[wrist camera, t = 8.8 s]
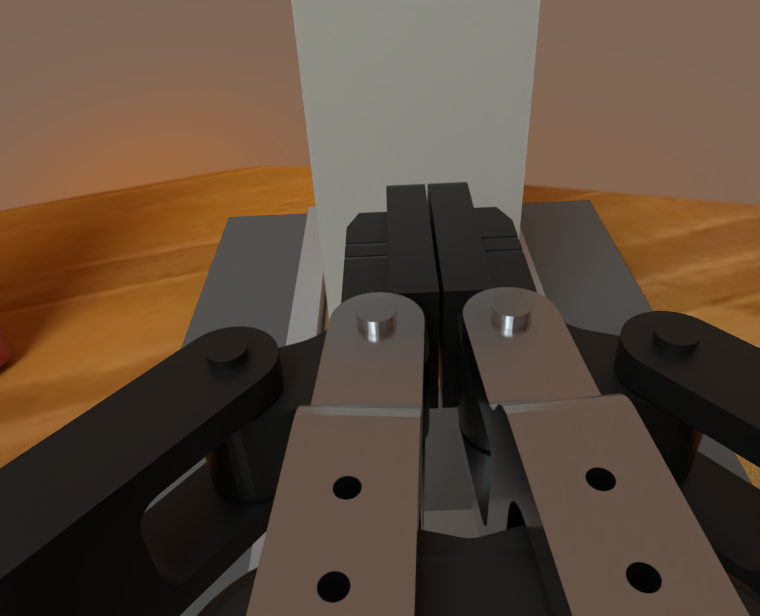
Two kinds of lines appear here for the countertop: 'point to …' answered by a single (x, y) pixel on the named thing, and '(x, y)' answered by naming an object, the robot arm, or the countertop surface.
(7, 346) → the cracker box
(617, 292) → the switch base
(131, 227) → the countertop surface
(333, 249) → the slider tab
